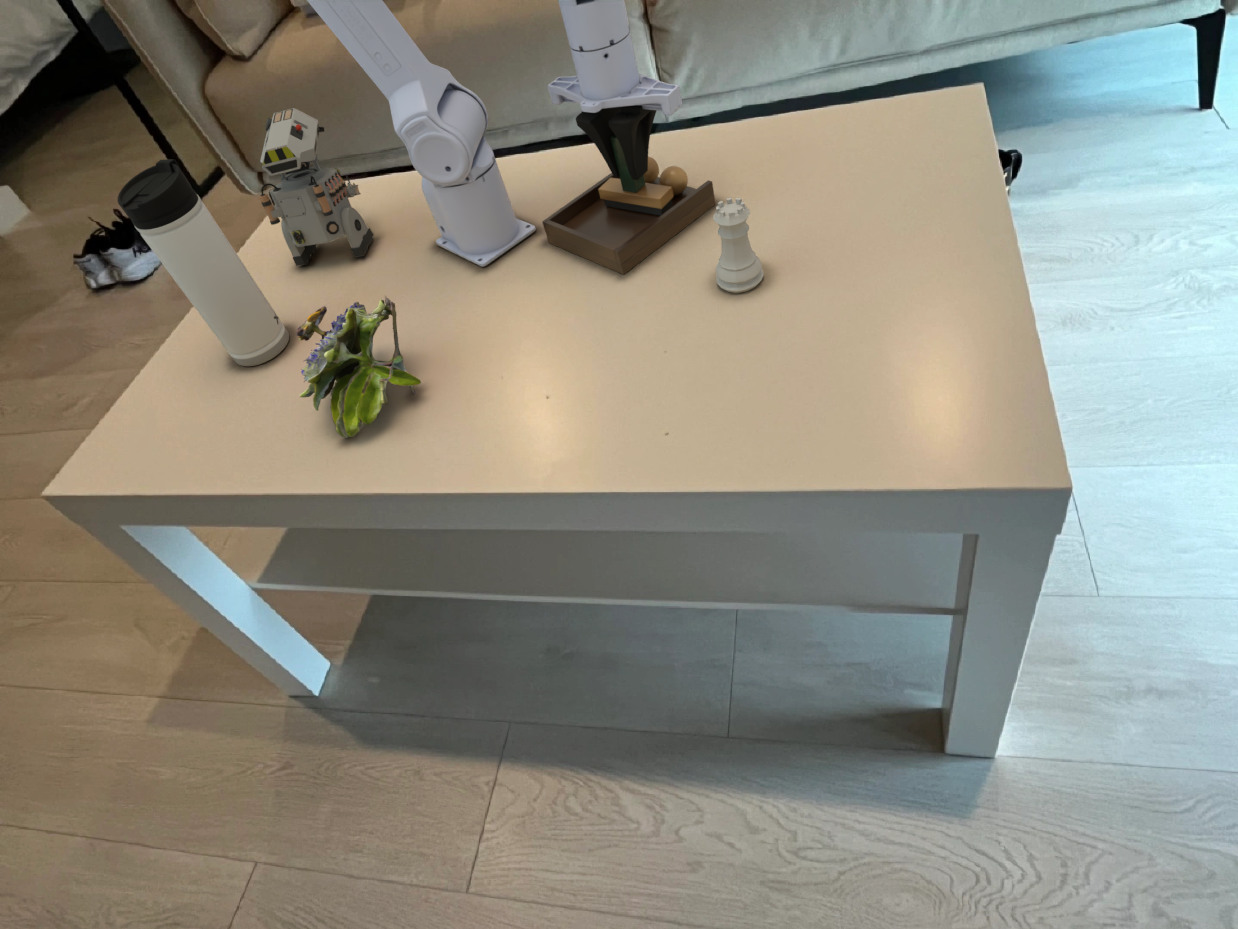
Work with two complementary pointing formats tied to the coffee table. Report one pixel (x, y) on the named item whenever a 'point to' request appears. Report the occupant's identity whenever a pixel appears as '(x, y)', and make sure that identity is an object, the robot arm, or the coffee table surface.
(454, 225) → the robot arm
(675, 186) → the cork ball
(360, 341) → the passion flower
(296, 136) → the figurine
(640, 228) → the tray
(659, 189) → the brush
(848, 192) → the coffee table surface
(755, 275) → the rook chess piece
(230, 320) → the travel mug
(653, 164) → the cork ball
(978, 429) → the coffee table surface
